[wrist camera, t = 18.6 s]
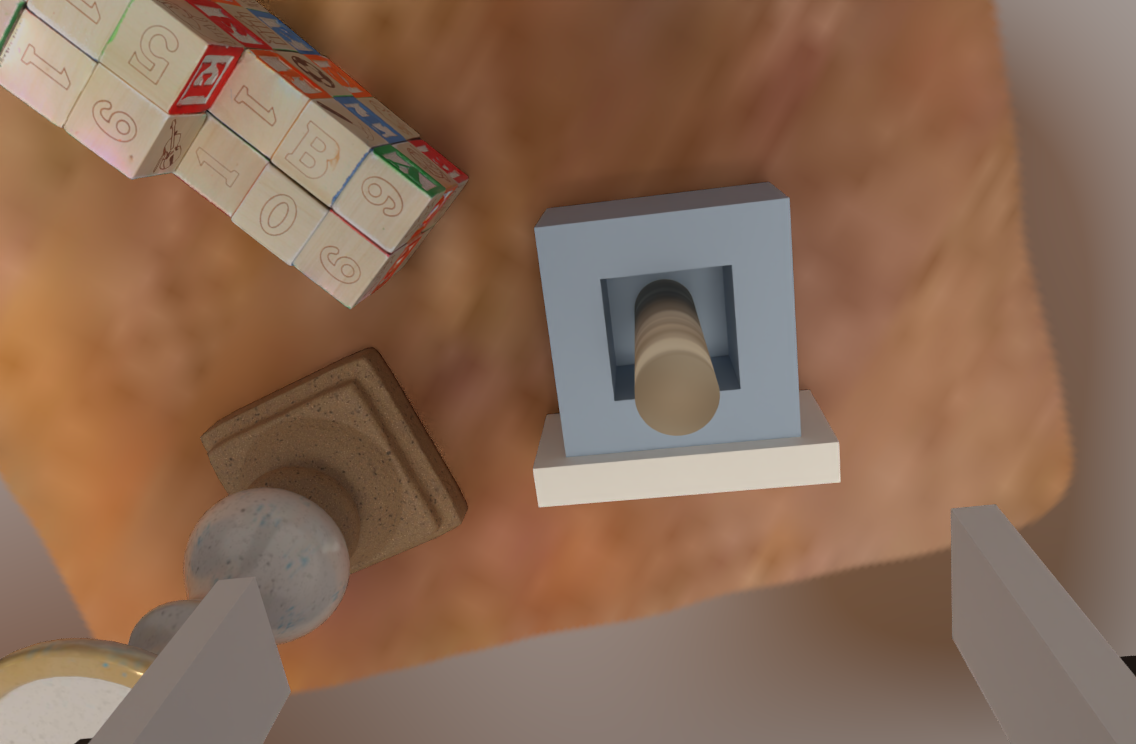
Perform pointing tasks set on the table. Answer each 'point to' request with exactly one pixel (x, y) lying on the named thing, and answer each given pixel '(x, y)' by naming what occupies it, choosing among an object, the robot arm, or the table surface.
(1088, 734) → the robot arm
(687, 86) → the table surface
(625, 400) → the block
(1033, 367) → the table surface
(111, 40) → the stack of blocks
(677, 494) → the wall
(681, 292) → the dowel
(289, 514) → the candle holder
